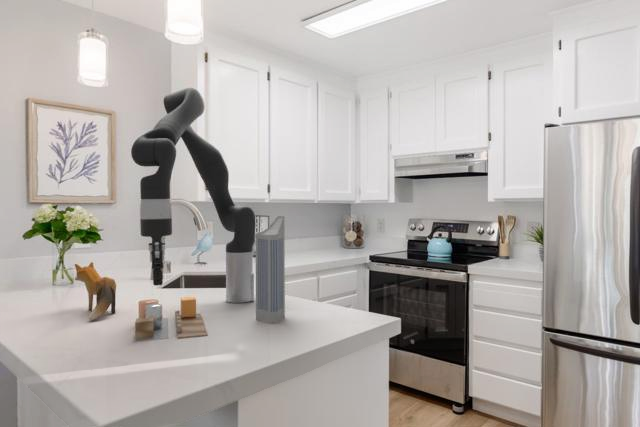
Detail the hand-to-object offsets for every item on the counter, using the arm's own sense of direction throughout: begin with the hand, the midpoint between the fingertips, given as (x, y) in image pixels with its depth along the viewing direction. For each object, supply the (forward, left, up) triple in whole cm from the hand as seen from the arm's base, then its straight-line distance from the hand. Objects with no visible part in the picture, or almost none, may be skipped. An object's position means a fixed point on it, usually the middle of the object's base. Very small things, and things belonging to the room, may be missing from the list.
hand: (158, 284), depth 111 cm
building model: (-30, -5, -13) cm, 34 cm away
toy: (+19, -30, -13) cm, 38 cm away
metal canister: (+1, -2, -12) cm, 12 cm away
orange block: (-8, -11, -11) cm, 17 cm away
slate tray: (+2, -2, -13) cm, 13 cm away
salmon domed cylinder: (+3, -8, -12) cm, 14 cm away
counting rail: (-8, -2, -13) cm, 15 cm away
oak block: (+3, +4, -12) cm, 13 cm away
